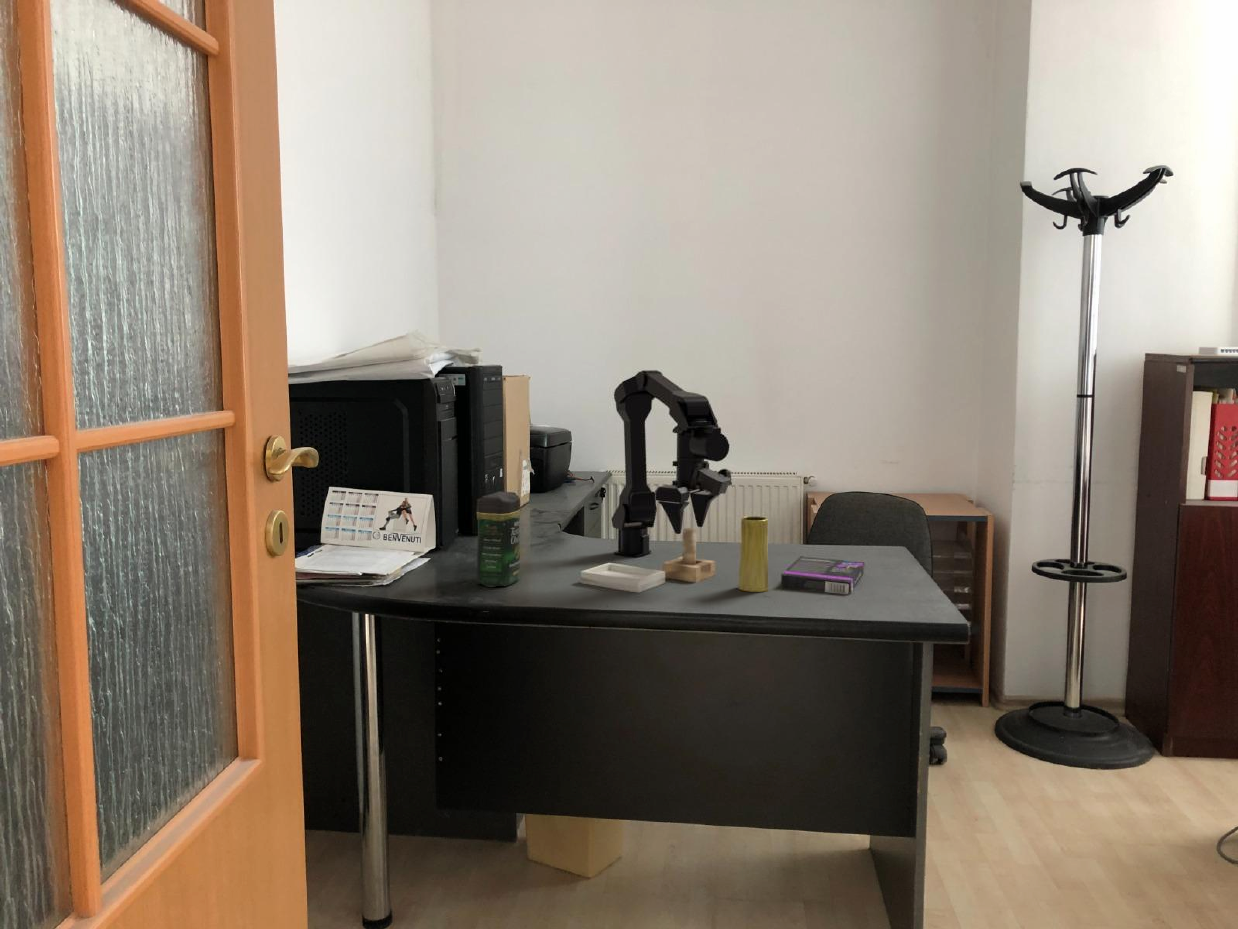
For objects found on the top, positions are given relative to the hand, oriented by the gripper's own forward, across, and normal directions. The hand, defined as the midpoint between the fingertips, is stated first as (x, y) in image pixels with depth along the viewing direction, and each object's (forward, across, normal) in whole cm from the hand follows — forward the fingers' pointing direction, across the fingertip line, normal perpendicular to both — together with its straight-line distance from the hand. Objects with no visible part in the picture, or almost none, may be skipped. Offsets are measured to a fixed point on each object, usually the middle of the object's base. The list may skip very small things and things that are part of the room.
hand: (689, 530), depth 207 cm
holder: (+10, 0, 0) cm, 10 cm away
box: (+10, +13, -25) cm, 30 cm away
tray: (+10, -13, +8) cm, 18 cm away
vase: (+10, -2, -16) cm, 19 cm away
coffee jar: (+10, -27, +29) cm, 41 cm away
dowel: (+10, 0, 0) cm, 10 cm away
